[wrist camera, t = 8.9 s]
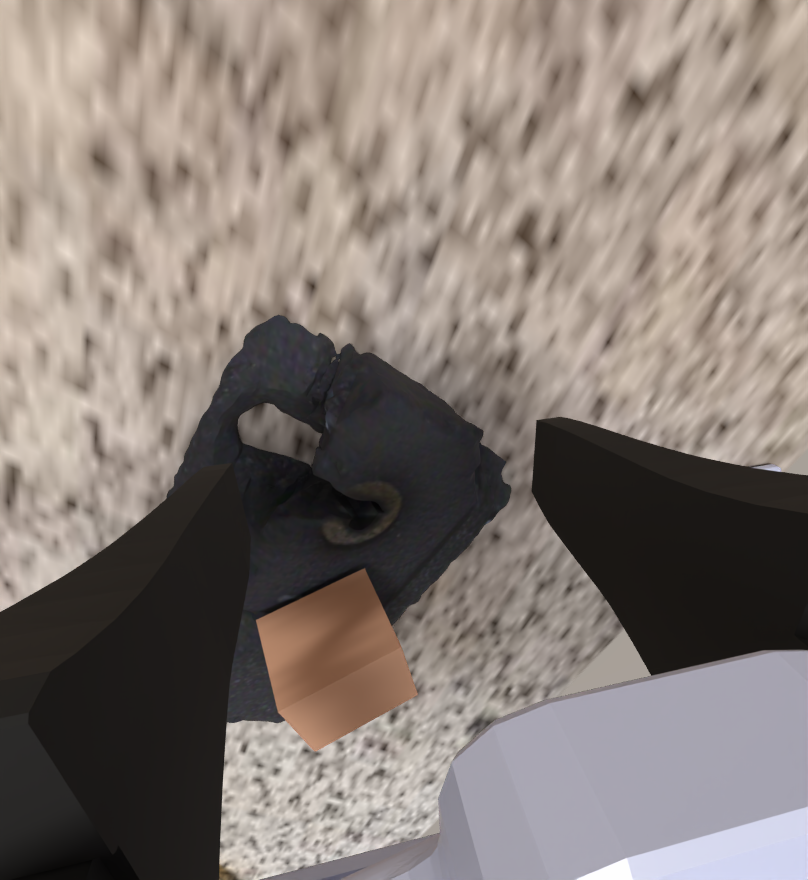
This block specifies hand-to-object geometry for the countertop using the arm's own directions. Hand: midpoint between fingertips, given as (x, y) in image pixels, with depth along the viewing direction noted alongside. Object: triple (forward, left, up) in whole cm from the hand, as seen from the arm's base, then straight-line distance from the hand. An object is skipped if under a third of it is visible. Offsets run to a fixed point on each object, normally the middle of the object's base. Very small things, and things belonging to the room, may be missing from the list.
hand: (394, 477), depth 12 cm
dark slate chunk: (+4, +10, -11) cm, 16 cm away
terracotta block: (+3, +12, -7) cm, 14 cm away
